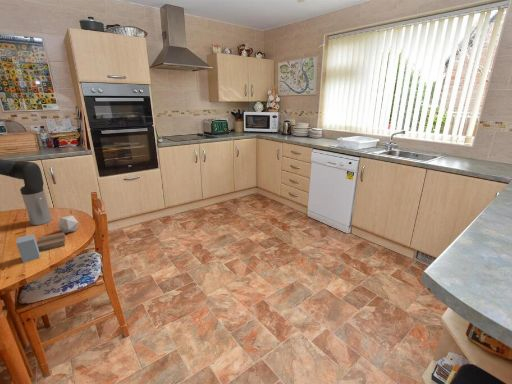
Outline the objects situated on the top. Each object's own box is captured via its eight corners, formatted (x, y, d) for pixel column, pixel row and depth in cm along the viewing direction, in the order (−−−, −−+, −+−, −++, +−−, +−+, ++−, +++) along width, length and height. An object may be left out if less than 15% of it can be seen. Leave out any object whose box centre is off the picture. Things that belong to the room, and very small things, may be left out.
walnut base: (39, 243, 127) (38, 237, 126) (65, 237, 132) (64, 232, 131) (37, 253, 119) (35, 247, 118) (65, 246, 124) (63, 240, 123)
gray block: (23, 256, 116) (17, 238, 113) (39, 252, 119) (33, 234, 116) (23, 262, 112) (16, 243, 109) (39, 257, 115) (33, 239, 112)
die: (80, 226, 143) (66, 213, 140) (84, 223, 137) (69, 210, 134) (67, 238, 138) (51, 225, 135) (70, 235, 132) (54, 221, 129)
